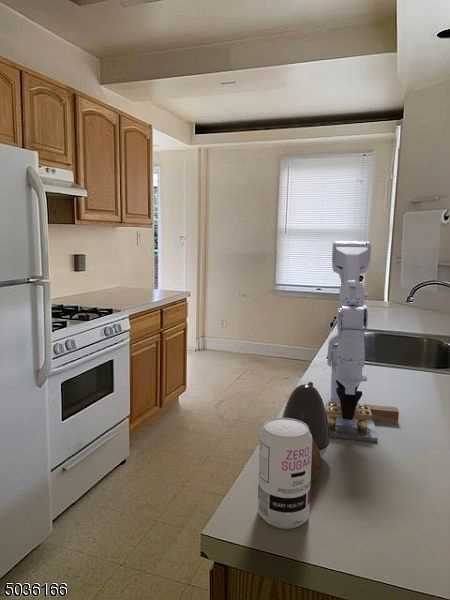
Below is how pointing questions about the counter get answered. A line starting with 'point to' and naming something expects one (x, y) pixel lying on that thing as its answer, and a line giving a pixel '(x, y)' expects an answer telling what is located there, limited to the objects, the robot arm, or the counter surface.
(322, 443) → the dark grey tall dome
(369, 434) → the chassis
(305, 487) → the supplement can
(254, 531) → the counter surface
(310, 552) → the counter surface
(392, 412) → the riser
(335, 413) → the wooden frame
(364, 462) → the counter surface
